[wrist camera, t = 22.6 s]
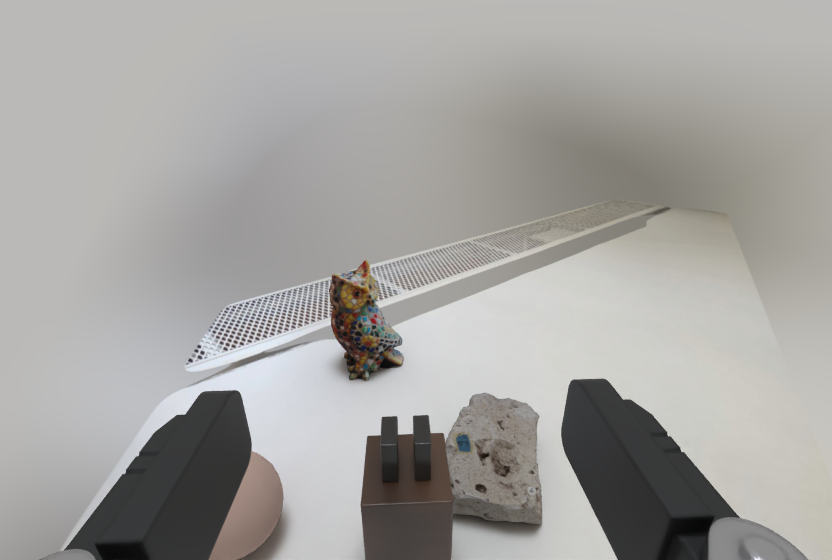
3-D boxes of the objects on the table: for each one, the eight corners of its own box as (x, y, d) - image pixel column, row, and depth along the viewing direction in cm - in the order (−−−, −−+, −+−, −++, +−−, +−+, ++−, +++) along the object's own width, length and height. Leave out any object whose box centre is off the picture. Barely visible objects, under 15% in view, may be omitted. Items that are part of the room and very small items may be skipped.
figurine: (395, 387, 49) (391, 278, 44) (327, 381, 51) (314, 274, 45) (407, 350, 57) (405, 253, 51) (348, 345, 59) (339, 250, 53)
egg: (239, 488, 36) (220, 417, 33) (306, 511, 34) (293, 438, 31) (172, 566, 30) (141, 489, 27) (249, 600, 28) (226, 520, 25)
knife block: (440, 536, 32) (444, 398, 27) (448, 613, 27) (455, 463, 22) (374, 539, 32) (364, 401, 26) (370, 617, 27) (357, 467, 21)
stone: (545, 536, 29) (419, 480, 32) (531, 568, 32) (418, 514, 35) (566, 400, 39) (469, 368, 42) (554, 435, 42) (464, 403, 45)
